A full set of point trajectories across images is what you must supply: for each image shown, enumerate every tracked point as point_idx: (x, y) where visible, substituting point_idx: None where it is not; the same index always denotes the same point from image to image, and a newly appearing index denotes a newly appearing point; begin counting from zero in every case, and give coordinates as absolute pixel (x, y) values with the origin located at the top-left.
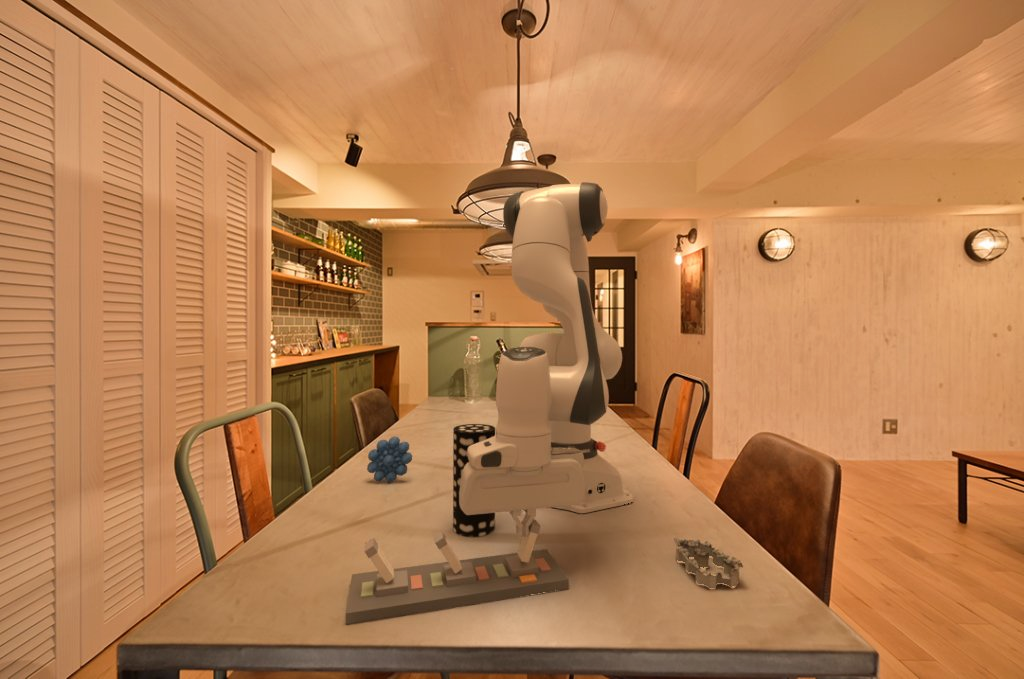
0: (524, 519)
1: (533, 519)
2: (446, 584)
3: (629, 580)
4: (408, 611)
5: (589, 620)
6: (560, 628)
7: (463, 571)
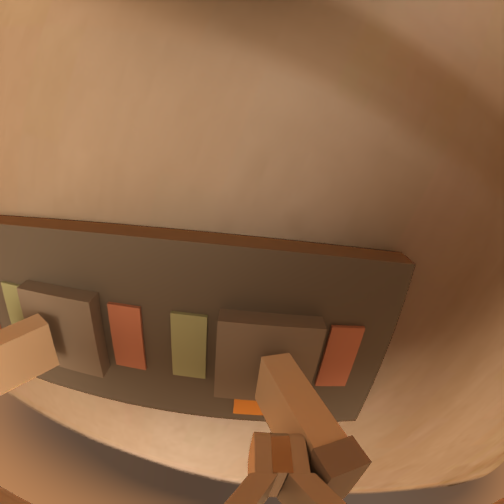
0: (297, 494)
1: (359, 468)
2: None
3: (468, 391)
4: None
5: None
6: None
7: (68, 343)
